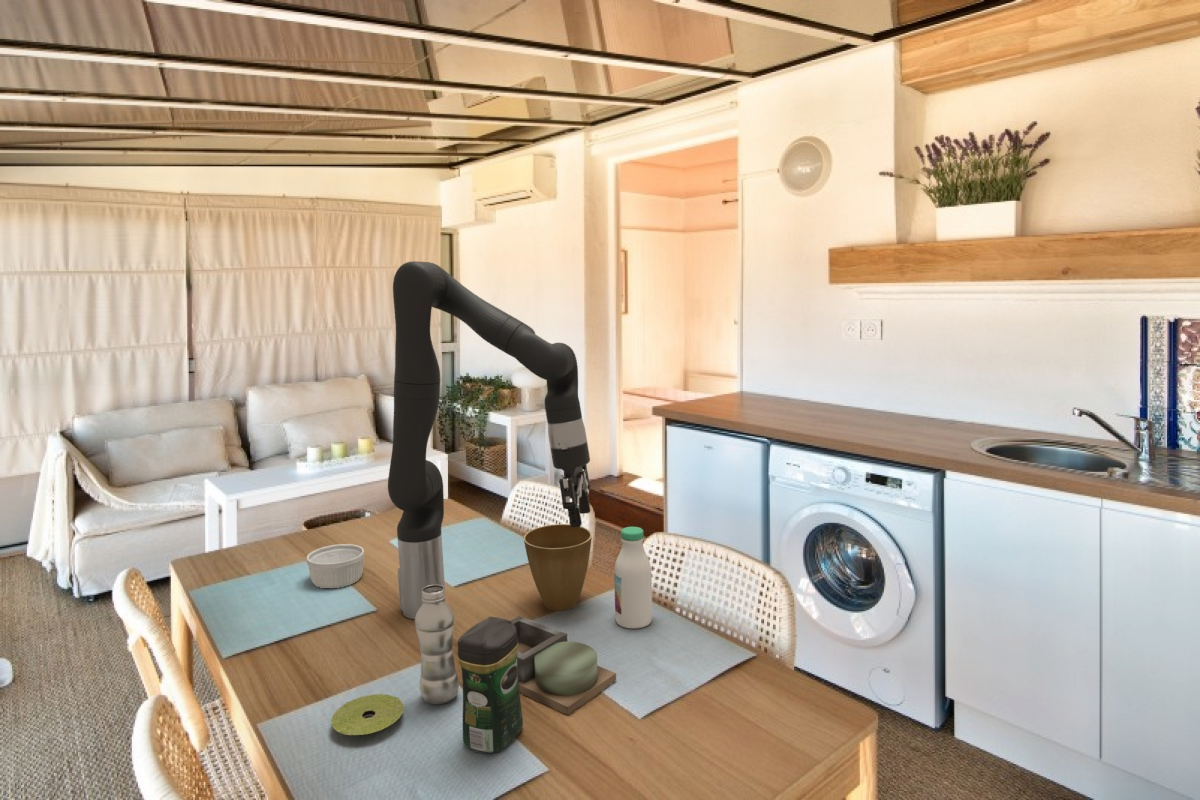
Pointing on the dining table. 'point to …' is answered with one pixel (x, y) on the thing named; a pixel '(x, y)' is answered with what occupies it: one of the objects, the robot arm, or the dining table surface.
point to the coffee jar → (490, 685)
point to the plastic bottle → (436, 647)
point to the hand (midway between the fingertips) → (581, 519)
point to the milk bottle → (633, 581)
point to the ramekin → (336, 565)
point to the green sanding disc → (367, 714)
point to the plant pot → (558, 563)
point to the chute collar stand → (557, 667)
